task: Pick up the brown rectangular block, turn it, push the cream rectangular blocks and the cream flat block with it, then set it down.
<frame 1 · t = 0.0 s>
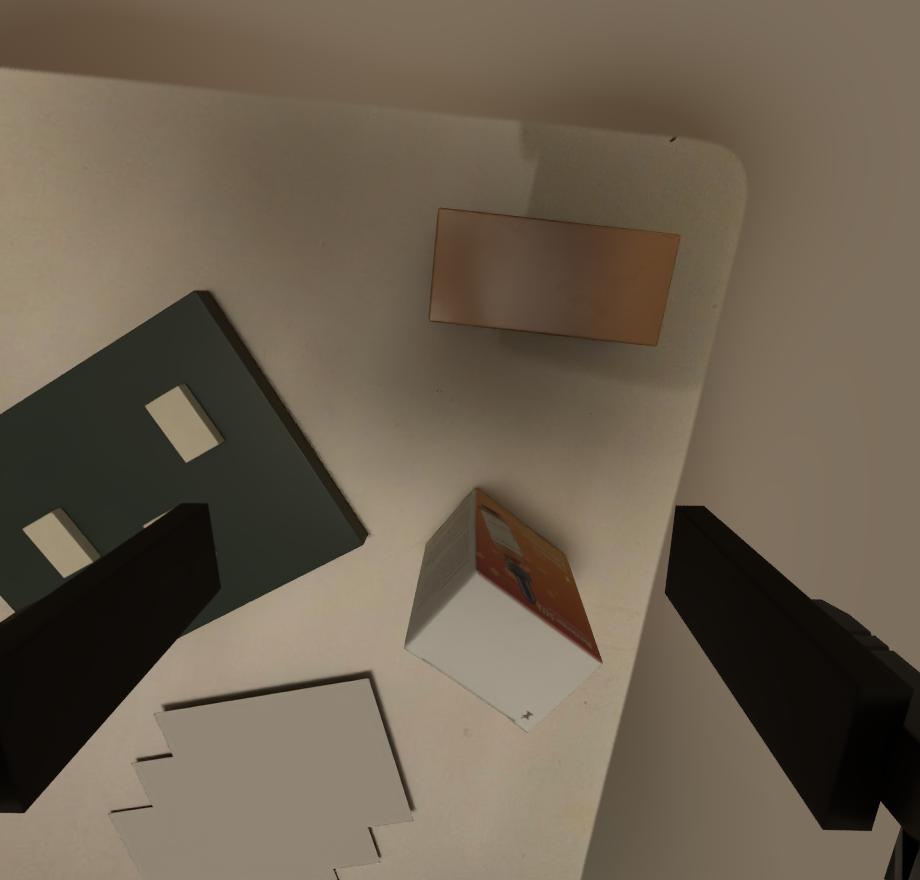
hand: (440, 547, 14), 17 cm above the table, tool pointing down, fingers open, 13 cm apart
cream flat block 3: (67, 540, 32), point 1 cm above the table, touching chalkboard
paper stack: (260, 810, 40), on the table, touching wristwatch
small box: (494, 547, 33), on the table
brown rectangular block: (535, 284, 28), on the table
chalkboard: (146, 503, 33), on the table
cream rectangular block 1: (189, 422, 29), point 1 cm above the table, touching chalkboard
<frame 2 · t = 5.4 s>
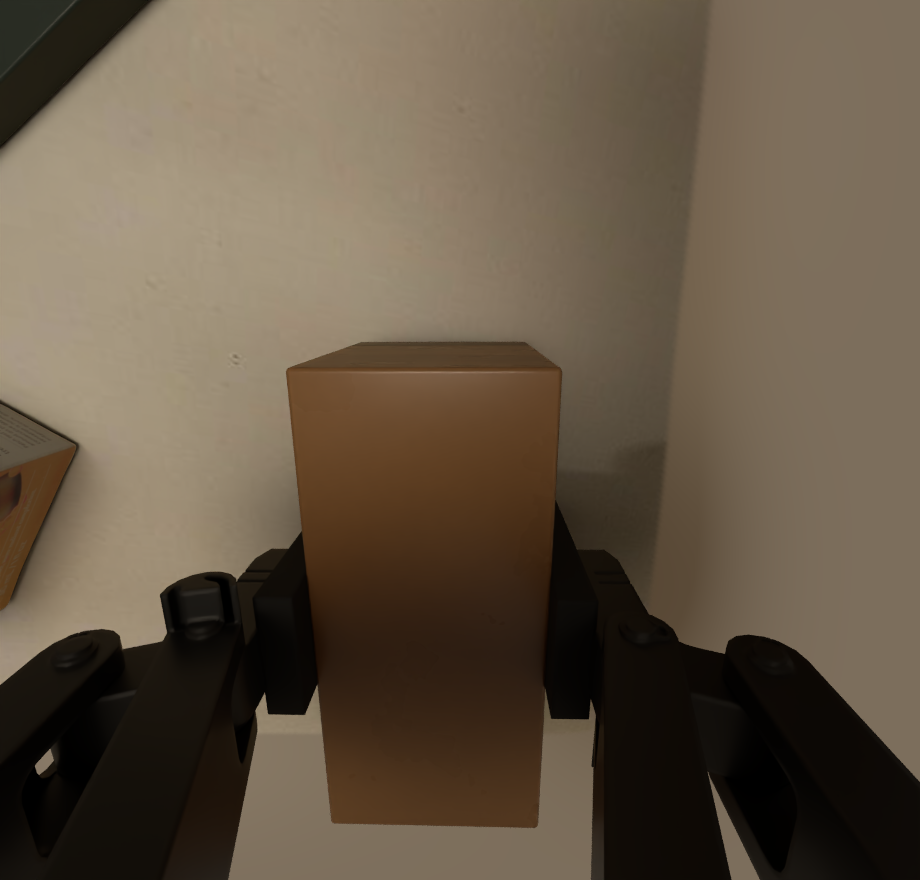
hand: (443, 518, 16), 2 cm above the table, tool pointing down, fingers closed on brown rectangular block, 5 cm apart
brown rectangular block: (444, 512, 16), point 2 cm above the table, touching gripper
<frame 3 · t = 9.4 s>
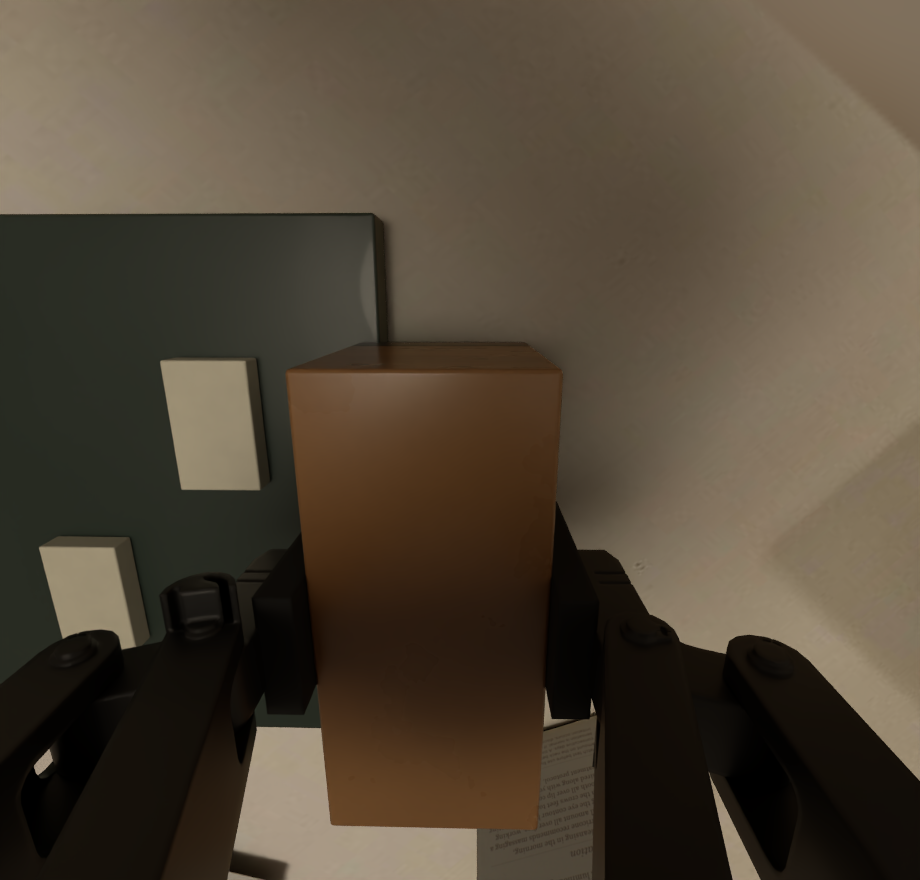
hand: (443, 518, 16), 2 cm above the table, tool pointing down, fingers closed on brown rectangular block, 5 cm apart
cream rectangular block 2: (105, 587, 17), point 1 cm above the table, touching chalkboard
small box: (566, 792, 21), on the table
brown rectangular block: (444, 513, 16), point 2 cm above the table, touching chalkboard, gripper
chalkboard: (65, 491, 18), on the table
cream rectangular block 1: (224, 421, 15), point 1 cm above the table, touching chalkboard
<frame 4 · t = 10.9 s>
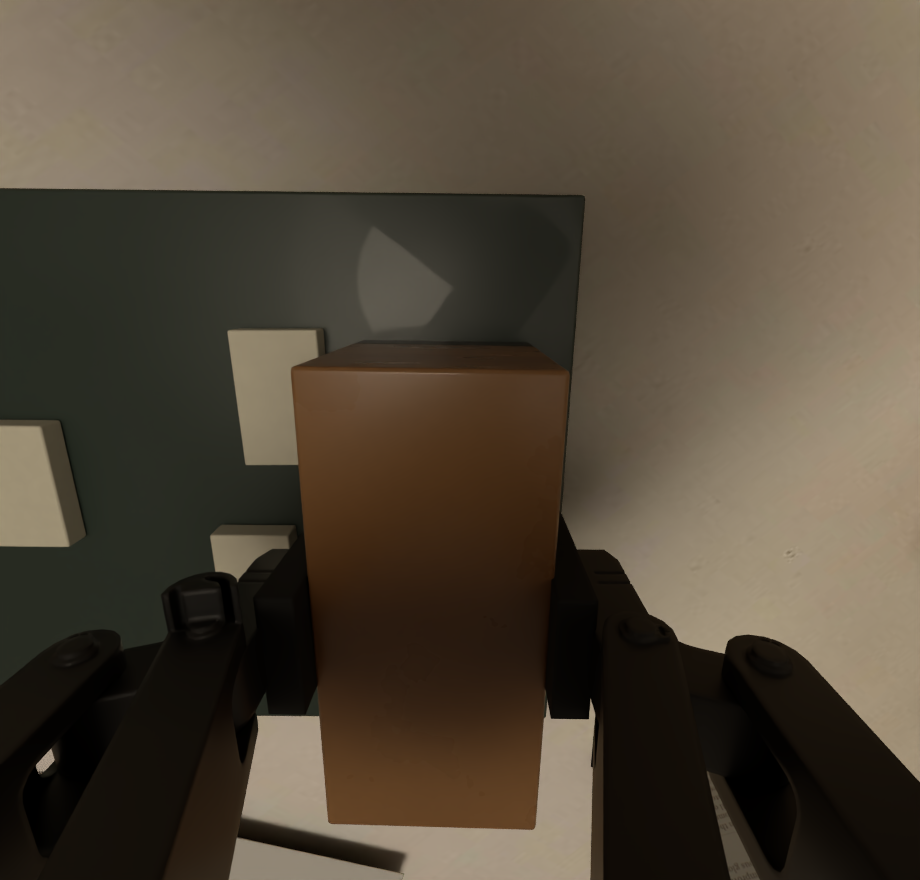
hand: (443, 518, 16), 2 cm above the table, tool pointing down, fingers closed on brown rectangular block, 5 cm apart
cream rectangular block 2: (265, 577, 17), point 1 cm above the table, touching chalkboard
cream flat block 3: (35, 479, 16), point 1 cm above the table, touching chalkboard
small box: (691, 778, 21), on the table
brown rectangular block: (444, 512, 16), point 2 cm above the table, touching chalkboard, gripper
chalkboard: (216, 478, 17), on the table
cream rectangular block 1: (288, 395, 15), point 2 cm above the table, touching chalkboard
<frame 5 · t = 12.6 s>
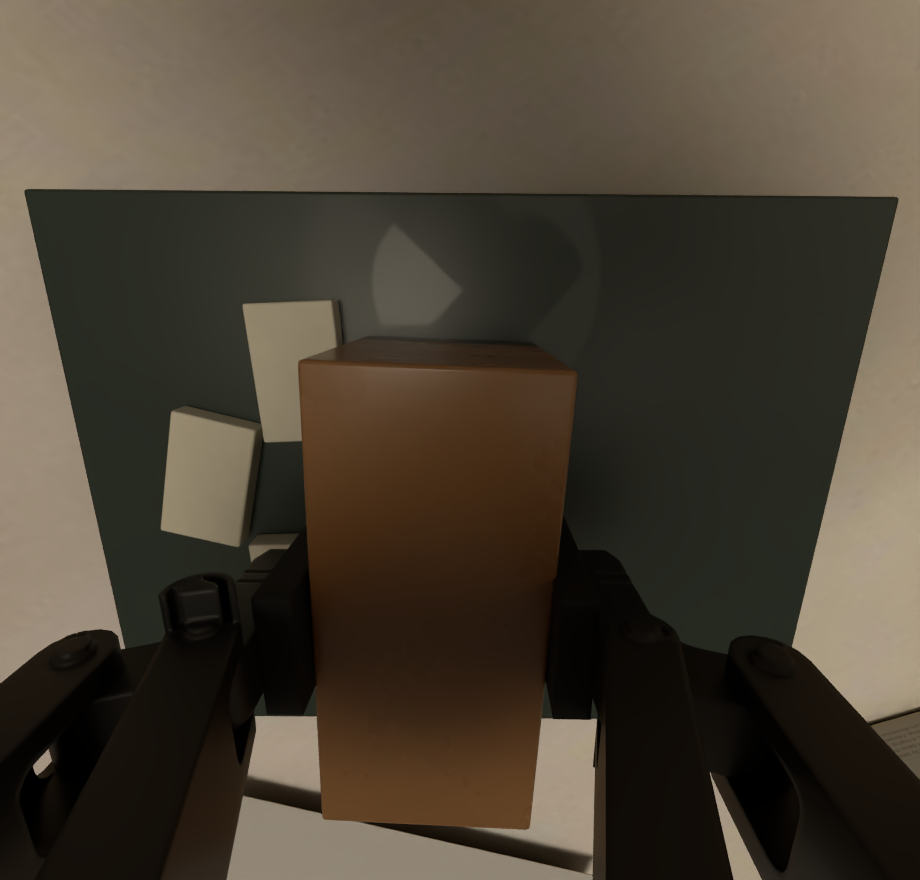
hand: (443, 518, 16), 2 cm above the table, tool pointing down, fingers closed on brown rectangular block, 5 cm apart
cream rectangular block 2: (302, 585, 17), point 1 cm above the table, touching chalkboard
cream flat block 3: (218, 473, 16), point 1 cm above the table, touching chalkboard
small box: (888, 781, 21), on the table
brown rectangular block: (444, 510, 16), point 2 cm above the table, touching gripper
chalkboard: (459, 481, 17), on the table
cream rectangular block 1: (304, 370, 15), point 1 cm above the table, touching chalkboard
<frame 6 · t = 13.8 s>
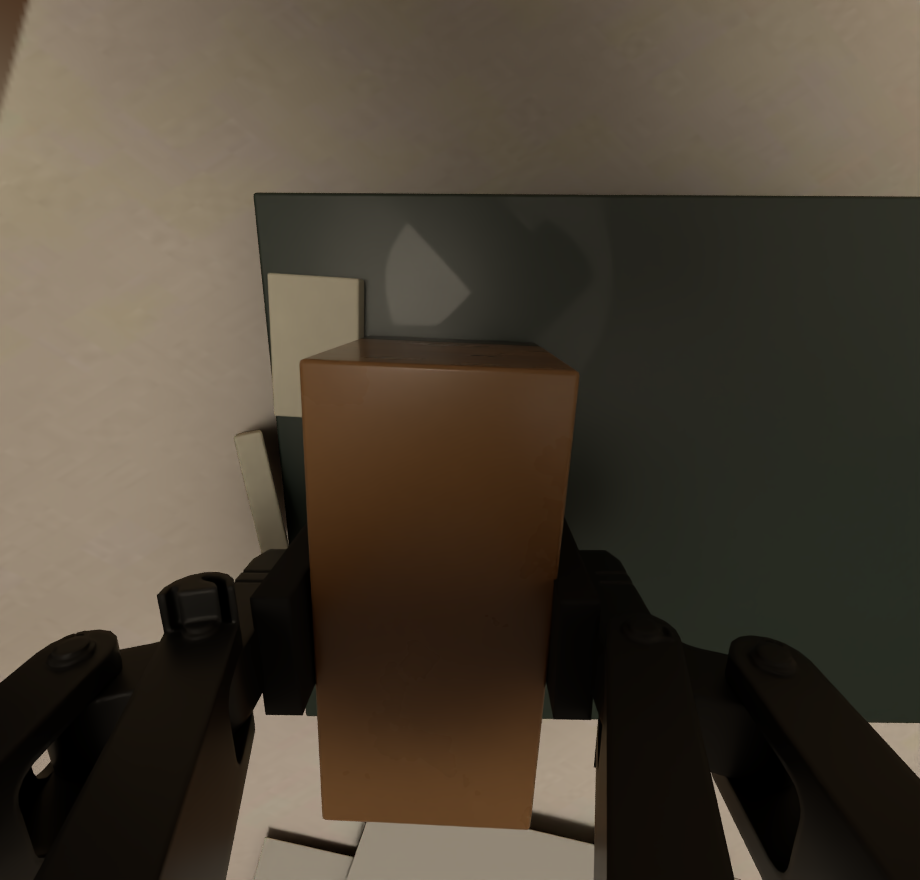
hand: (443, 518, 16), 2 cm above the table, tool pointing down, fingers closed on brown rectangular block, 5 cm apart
cream flat block 3: (275, 489, 16), point 1 cm above the table, tilted 65°, touching chalkboard
brown rectangular block: (445, 510, 16), point 2 cm above the table, touching gripper
chalkboard: (635, 482, 17), on the table
cream rectangular block 1: (322, 347, 14), point 1 cm above the table, touching chalkboard
when the fingers open (2 cm above the table, at t = 15.2 s): brown rectangular block stays where it is, resting on cream flat block 3, chalkboard.
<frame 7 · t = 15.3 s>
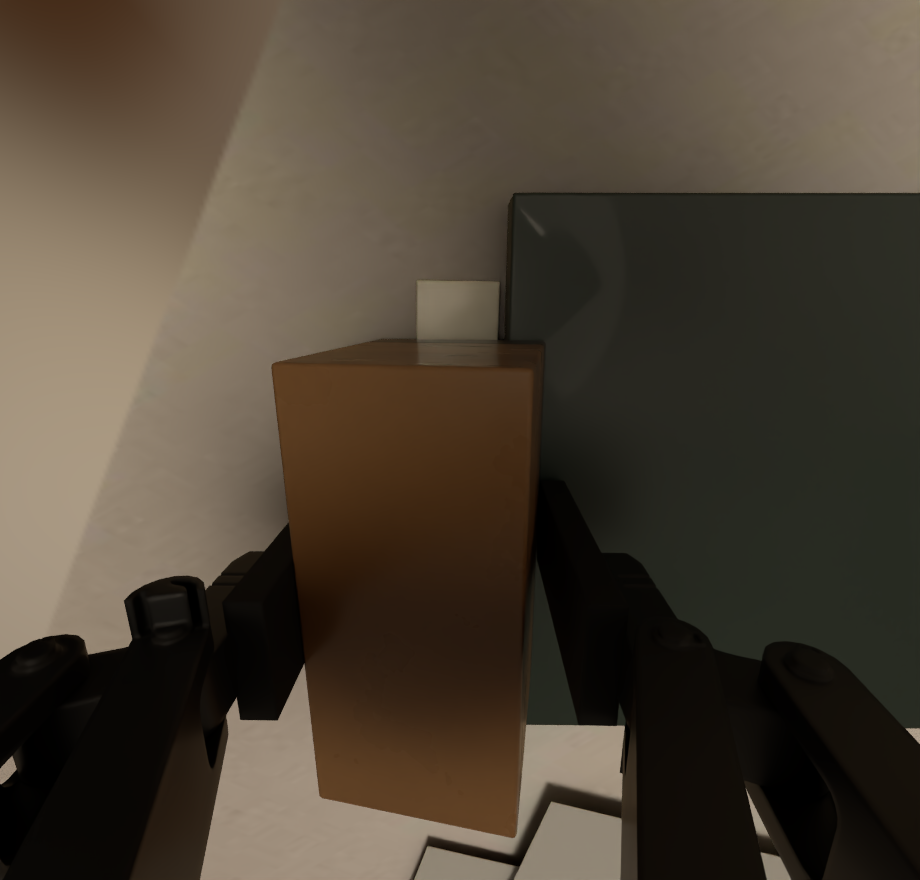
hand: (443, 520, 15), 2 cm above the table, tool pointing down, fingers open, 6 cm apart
brown rectangular block: (461, 510, 16), point 1 cm above the table, tilted 11°, touching cream flat block 3, chalkboard
chalkboard: (845, 486, 17), on the table
cream rectangular block 1: (457, 346, 16), on the table
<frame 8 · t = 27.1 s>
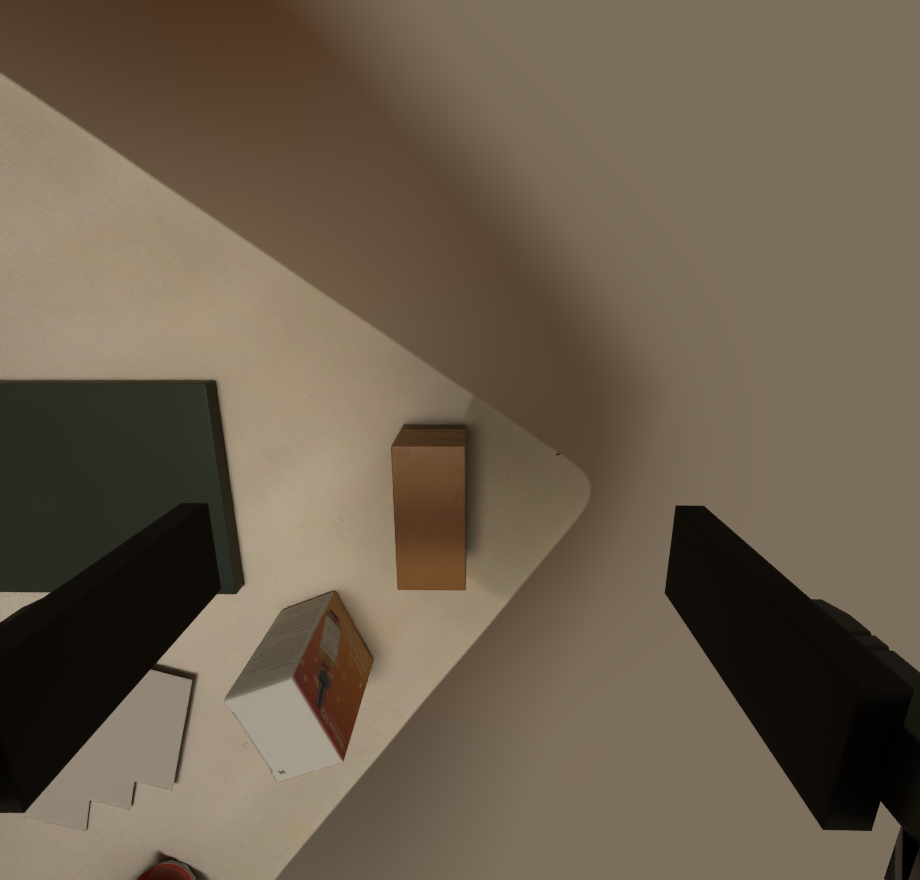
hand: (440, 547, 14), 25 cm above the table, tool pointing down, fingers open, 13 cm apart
paper stack: (54, 735, 48), on the table, touching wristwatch
small box: (328, 633, 44), on the table
brown rectangular block: (436, 489, 40), on the table
chalkboard: (88, 488, 40), on the table
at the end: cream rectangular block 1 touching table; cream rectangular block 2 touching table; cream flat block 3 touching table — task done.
